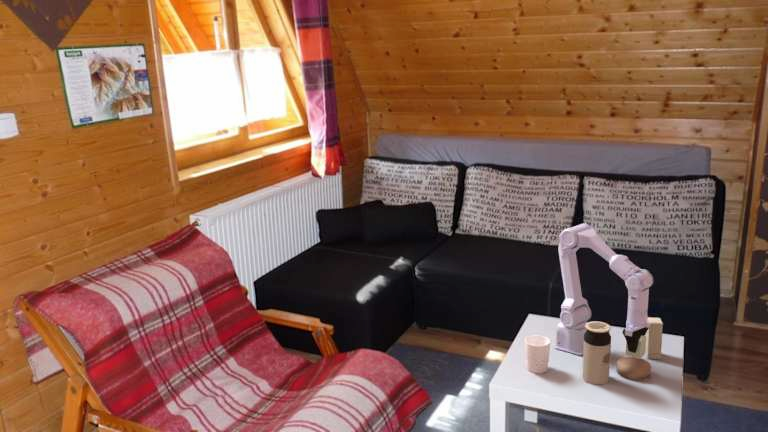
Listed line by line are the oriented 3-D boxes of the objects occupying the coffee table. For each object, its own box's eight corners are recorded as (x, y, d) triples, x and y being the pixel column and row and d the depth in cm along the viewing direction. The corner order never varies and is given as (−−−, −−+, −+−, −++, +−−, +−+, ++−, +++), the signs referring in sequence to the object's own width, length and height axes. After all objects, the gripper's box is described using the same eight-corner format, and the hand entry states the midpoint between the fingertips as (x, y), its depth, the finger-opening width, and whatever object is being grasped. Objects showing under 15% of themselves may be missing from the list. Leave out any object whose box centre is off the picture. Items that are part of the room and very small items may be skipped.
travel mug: (576, 376, 203) (578, 324, 199) (596, 370, 206) (598, 318, 202) (594, 387, 196) (597, 333, 192) (614, 381, 199) (617, 328, 195)
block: (625, 355, 202) (626, 337, 200) (630, 349, 205) (632, 332, 203) (639, 359, 199) (641, 341, 197) (645, 353, 202) (646, 336, 201)
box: (661, 359, 211) (663, 323, 208) (646, 358, 212) (649, 323, 209) (657, 352, 216) (660, 317, 213) (643, 351, 217) (646, 316, 214)
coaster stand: (612, 374, 203) (612, 366, 202) (623, 362, 211) (624, 354, 210) (644, 384, 197) (644, 375, 196) (654, 370, 204) (655, 362, 204)
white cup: (552, 365, 211) (552, 337, 208) (545, 376, 204) (546, 348, 201) (528, 360, 214) (529, 333, 212) (521, 371, 208) (522, 343, 205)
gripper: (642, 319, 190) (639, 361, 194) (658, 303, 201) (655, 343, 204) (619, 314, 195) (616, 354, 198) (635, 299, 205) (633, 337, 209)
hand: (635, 348), depth 202 cm, fingers closed on block, 4 cm apart
